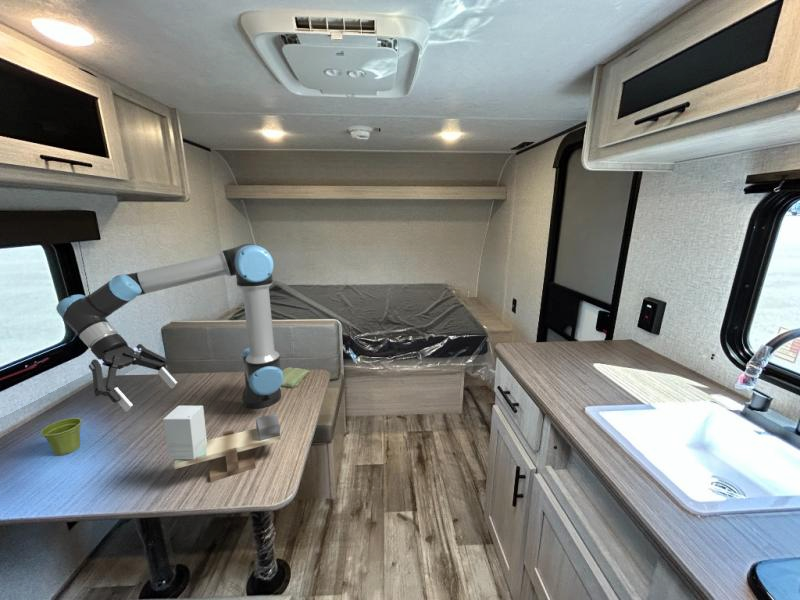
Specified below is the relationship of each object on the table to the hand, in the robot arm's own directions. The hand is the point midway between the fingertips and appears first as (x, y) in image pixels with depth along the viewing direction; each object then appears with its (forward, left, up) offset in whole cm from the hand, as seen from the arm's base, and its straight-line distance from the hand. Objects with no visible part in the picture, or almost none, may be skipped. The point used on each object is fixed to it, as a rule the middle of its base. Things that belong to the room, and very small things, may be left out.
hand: (153, 396), depth 98 cm
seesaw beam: (-7, +18, -18) cm, 26 cm away
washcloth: (-63, +3, -24) cm, 67 cm away
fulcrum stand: (-7, +18, -24) cm, 30 cm away
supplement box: (+1, +10, -16) cm, 19 cm away
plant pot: (+2, -38, -24) cm, 45 cm away
